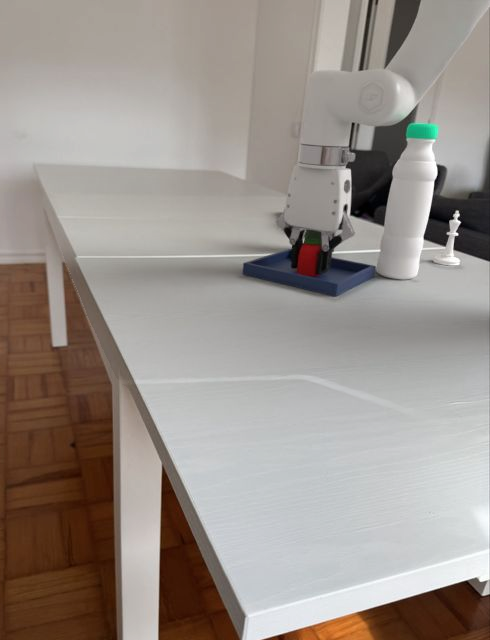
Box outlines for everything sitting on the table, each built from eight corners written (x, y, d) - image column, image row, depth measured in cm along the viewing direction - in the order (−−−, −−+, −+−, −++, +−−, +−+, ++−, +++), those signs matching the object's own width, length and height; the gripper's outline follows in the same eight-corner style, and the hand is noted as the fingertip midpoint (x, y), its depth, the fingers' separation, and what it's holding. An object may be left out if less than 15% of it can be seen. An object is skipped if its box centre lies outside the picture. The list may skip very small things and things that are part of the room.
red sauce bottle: (325, 273, 95) (329, 239, 93) (314, 277, 92) (318, 243, 90) (303, 268, 97) (307, 235, 95) (292, 272, 94) (295, 239, 92)
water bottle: (393, 282, 93) (422, 123, 83) (367, 271, 99) (391, 121, 89) (425, 278, 96) (457, 125, 86) (397, 268, 102) (424, 123, 92)
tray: (374, 277, 96) (376, 266, 95) (335, 296, 84) (337, 284, 84) (287, 258, 105) (288, 248, 104) (242, 274, 94) (243, 262, 93)
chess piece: (428, 261, 108) (438, 210, 104) (440, 258, 111) (450, 208, 107) (452, 267, 105) (464, 214, 101) (463, 263, 108) (475, 211, 104)
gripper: (382, 161, 85) (363, 275, 93) (288, 152, 94) (278, 257, 102) (363, 163, 80) (345, 284, 87) (265, 154, 89) (256, 264, 96)
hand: (309, 268), depth 94 cm, fingers closed on red sauce bottle, 4 cm apart
